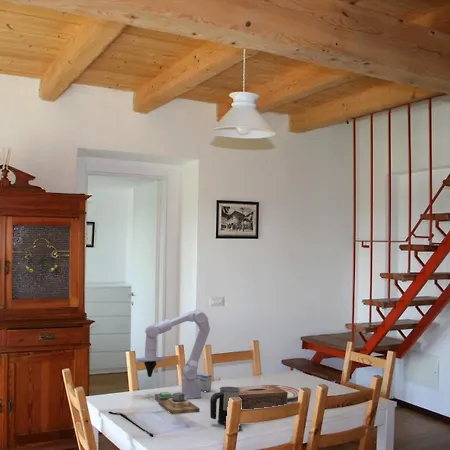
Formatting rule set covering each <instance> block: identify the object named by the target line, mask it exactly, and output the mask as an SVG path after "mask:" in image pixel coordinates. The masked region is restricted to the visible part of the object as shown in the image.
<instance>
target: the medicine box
mask: <svg viewBox="0 0 450 450" xmlns="http://www.w3.org/2000/svg"><path fill="white" fill-rule="evenodd" d="M212 376H213V375H211V374H206V373H198V372H197V376H196V379H200V381H201V391H206V392H205V393H208V392H207V391H210V390H211V391H212ZM211 391H210V392H211Z"/></svg>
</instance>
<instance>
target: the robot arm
mask: <svg viewBox="0 0 450 450" xmlns="http://www.w3.org/2000/svg"><path fill="white" fill-rule="evenodd" d="M185 322H189V323H191V322H192V323H195V324H196V325H197V328H198V329H199V331H198V333H197V335H196V336H197V337H196V339H195V341H194V344H193V347H192V350H191V352H190V355H189V358H188V360H187V361H186V362H185V363H186V364H184V365H183V367H182V368H181V369H182V370H181V372H182V374H183V376H182V377H181V378H182V379H181V393H183V394H185V396H184V398H185V399H187V400H188V399H199V398H200V399H201V398H202V396H201V395H202V394H201V393H202V392H201V381H200V379H196V376H197V374H198V368H199V361H200V359H201V355H202V354H203V353H202V352H203V350H204V347H205V345H206V342H207V340H208V336H209V334H210V332H211V331H210V330H211V327H210V323H209V317H208V315H207V314H206V312H204V311H202V310H201V309H195V310H192V311H188V312H186V313H183V314H181V315H179V316H177V317H175V318H173V319H168V318H166V319H165V318H163V319H162V320H161V321H158V322H154V323H153V324H150V325H148V326H147V327H146V328H145V331H144V332H145V334H146V335H145V343H144V344H145V346H144V357H138V358H135V363H136V364H139V363H140V364H141V363H143V364H144V367H145V369H146V373H147V377H148V378H151V377H152V376H153V372H154V369H155V367H156V366H157V363H159V362H161V363H162V362H163V363H165V356H162V357H160V356H159V357H158V356H157V347H158V346H157V345H158V344H157V343H158V340H157V339H158V335H161V334H164V333H165V332H168V331H171V330H172V329H173V327H174V326H177V325H181V324H183V323H185Z"/></svg>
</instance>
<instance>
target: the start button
mask: <svg viewBox="0 0 450 450" xmlns="http://www.w3.org/2000/svg"><path fill="white" fill-rule="evenodd" d="M170 393H171V392H167V391H166V392H165V391H163V392H160V393H159V394H160V396H161V397H170Z"/></svg>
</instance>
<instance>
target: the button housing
mask: <svg viewBox="0 0 450 450" xmlns="http://www.w3.org/2000/svg"><path fill="white" fill-rule="evenodd" d="M169 393H170V397H161V396H160V393H155V394H154V400H155V401H156V402H158V403H159V401H163V400H168V399H171V398H173V393H171V392H169Z"/></svg>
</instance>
